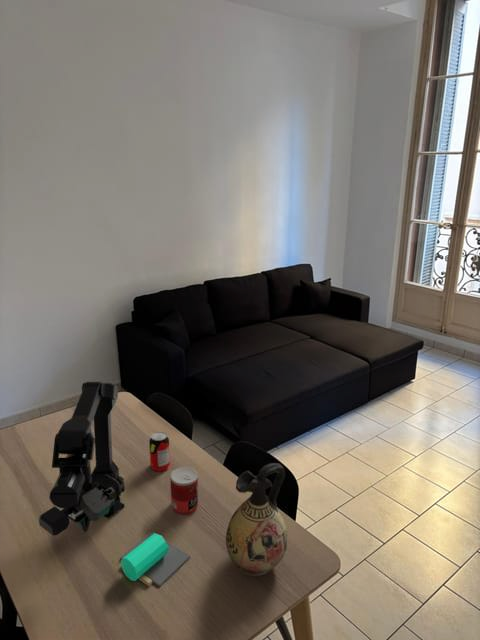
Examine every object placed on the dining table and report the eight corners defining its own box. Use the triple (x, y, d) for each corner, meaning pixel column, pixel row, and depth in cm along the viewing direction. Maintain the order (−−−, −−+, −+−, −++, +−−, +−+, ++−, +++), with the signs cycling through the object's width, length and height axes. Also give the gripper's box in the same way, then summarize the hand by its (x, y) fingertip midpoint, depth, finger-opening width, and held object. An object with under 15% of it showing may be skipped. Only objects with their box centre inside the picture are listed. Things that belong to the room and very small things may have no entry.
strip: (121, 566, 121) (121, 563, 121) (124, 564, 122) (124, 560, 121) (149, 587, 116) (149, 583, 115) (152, 584, 116) (152, 580, 116)
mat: (120, 559, 123) (120, 557, 123) (151, 533, 132) (151, 531, 132) (159, 586, 116) (159, 585, 115) (190, 557, 124) (190, 555, 124)
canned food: (194, 517, 138) (193, 485, 134) (167, 512, 139) (166, 481, 136) (201, 499, 145) (201, 468, 141) (176, 495, 146) (175, 465, 143)
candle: (117, 560, 118) (153, 532, 127) (129, 582, 117) (165, 552, 126) (128, 555, 115) (164, 526, 124) (140, 578, 114) (176, 547, 123)
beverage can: (168, 459, 163) (166, 429, 159) (171, 470, 158) (170, 439, 154) (149, 463, 161) (147, 432, 157) (152, 474, 156) (150, 442, 152)
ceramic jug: (240, 597, 113) (242, 493, 103) (217, 550, 127) (217, 453, 117) (302, 574, 120) (310, 474, 110) (274, 531, 133) (279, 438, 123)
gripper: (64, 516, 98) (72, 574, 103) (133, 470, 112) (137, 523, 118) (33, 493, 104) (42, 550, 109) (102, 452, 118) (107, 504, 124)
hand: (84, 531), depth 115 cm, fingers closed
